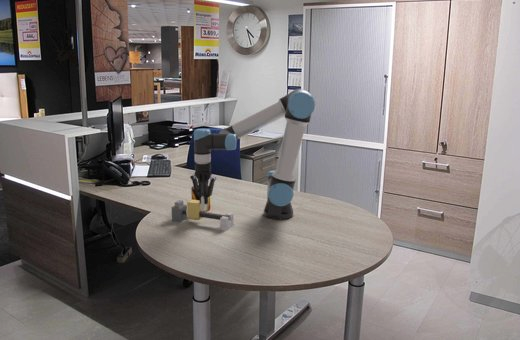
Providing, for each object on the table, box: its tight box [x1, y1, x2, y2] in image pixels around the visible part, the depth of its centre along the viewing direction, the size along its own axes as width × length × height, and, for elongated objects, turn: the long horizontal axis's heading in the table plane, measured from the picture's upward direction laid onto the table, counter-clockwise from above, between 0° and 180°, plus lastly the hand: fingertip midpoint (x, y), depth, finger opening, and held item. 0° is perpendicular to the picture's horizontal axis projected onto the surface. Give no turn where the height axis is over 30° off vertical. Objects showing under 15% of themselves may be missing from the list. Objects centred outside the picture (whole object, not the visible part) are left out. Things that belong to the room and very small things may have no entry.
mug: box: [190, 184, 211, 213], centre depth 234 cm, size 10×14×12 cm
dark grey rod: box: [183, 209, 229, 221], centre depth 217 cm, size 28×4×4 cm, turn 68°
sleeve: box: [186, 198, 204, 221], centre depth 218 cm, size 6×4×8 cm
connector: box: [171, 199, 188, 223], centre depth 221 cm, size 5×6×9 cm
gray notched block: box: [219, 212, 235, 232], centre depth 212 cm, size 3×8×6 cm, turn 158°
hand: (204, 210), depth 216 cm, fingers closed
